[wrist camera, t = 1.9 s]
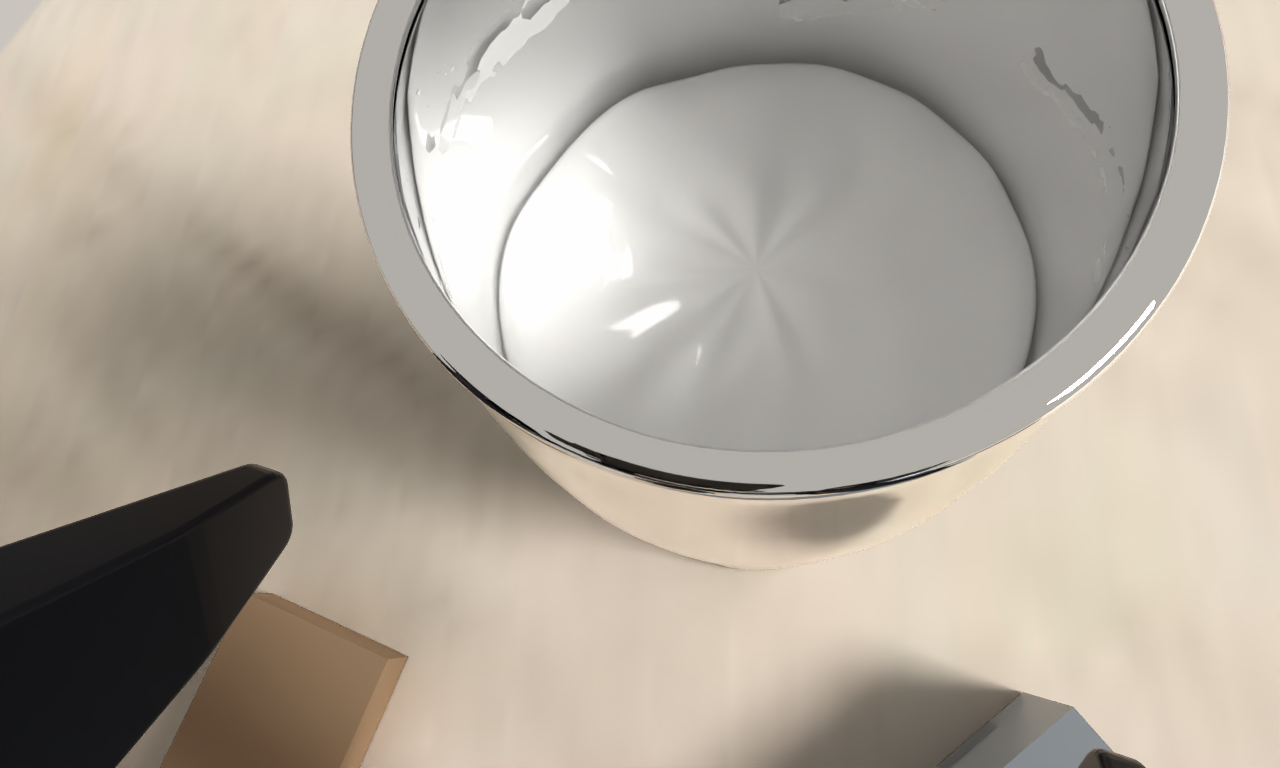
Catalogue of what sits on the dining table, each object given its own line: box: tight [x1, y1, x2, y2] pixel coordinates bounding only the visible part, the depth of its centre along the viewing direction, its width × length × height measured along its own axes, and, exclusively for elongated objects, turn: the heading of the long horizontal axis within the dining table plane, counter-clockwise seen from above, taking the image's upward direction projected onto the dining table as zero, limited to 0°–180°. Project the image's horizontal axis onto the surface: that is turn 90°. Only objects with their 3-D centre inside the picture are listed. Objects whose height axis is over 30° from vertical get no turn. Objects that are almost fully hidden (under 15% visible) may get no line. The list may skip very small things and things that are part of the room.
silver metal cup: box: [350, 0, 1230, 570], centre depth 13 cm, size 7×7×15 cm
